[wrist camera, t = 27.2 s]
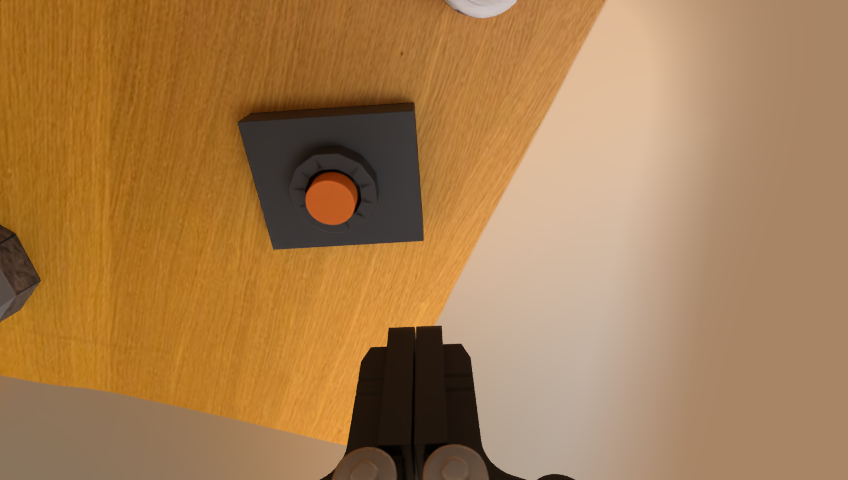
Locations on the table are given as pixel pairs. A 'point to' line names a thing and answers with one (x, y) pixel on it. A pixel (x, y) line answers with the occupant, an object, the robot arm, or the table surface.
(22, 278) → the mug
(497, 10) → the pill bottle
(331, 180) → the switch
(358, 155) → the button base
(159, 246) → the table surface
